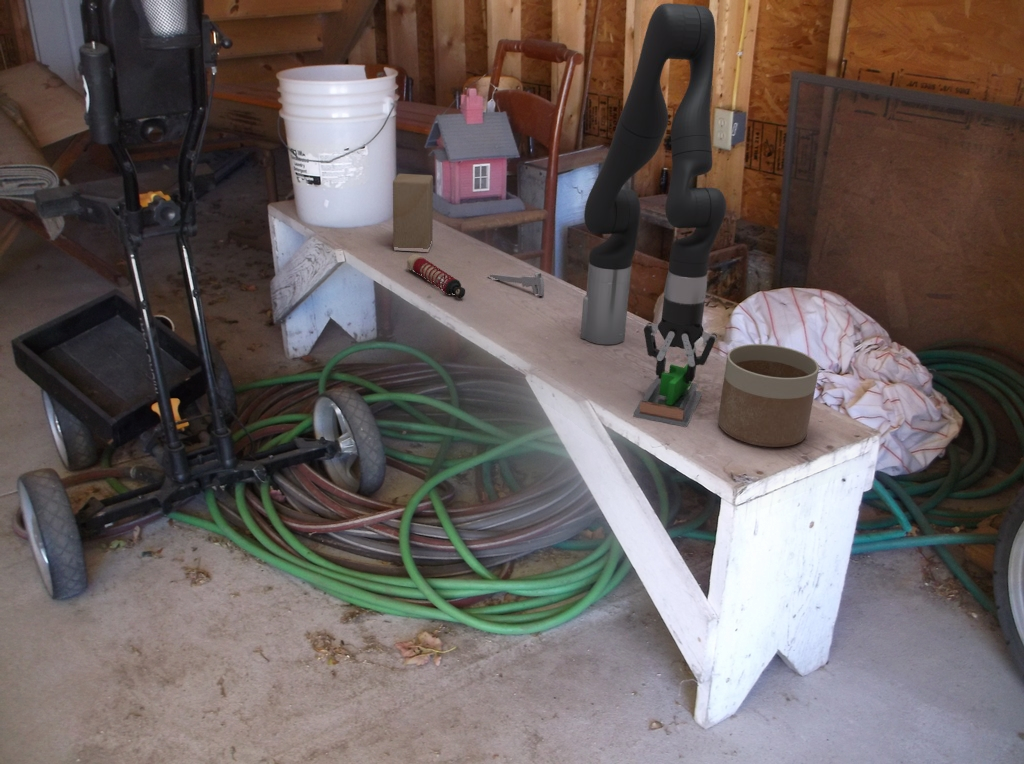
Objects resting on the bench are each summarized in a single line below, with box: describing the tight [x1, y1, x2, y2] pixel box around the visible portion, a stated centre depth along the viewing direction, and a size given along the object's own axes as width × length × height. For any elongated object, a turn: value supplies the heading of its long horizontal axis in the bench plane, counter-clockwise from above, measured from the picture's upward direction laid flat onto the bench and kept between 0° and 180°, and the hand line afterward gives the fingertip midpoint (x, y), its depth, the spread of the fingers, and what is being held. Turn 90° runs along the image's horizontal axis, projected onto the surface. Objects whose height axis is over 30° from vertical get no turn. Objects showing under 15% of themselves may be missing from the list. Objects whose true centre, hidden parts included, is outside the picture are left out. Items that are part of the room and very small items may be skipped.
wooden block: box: [392, 173, 434, 249], centre depth 267 cm, size 10×10×20 cm
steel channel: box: [632, 375, 703, 427], centre depth 180 cm, size 10×15×3 cm, turn 159°
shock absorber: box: [406, 253, 466, 299], centre depth 242 cm, size 5×5×30 cm
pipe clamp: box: [659, 362, 693, 405], centre depth 182 cm, size 11×4×5 cm, turn 151°
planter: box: [717, 343, 820, 448], centre depth 170 cm, size 16×16×14 cm
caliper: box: [489, 272, 545, 297], centre depth 241 cm, size 20×1×6 cm, turn 43°
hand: (674, 379), depth 182 cm, fingers open, 4 cm apart
